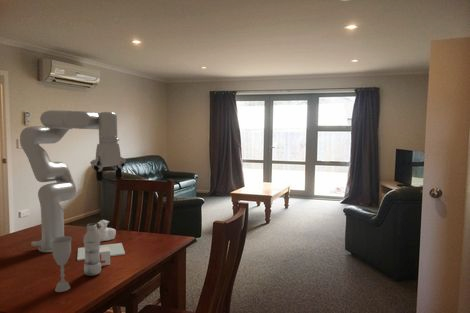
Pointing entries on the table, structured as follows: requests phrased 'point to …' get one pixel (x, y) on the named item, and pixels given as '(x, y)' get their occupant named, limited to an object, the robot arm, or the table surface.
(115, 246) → the sage mat
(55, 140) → the robot arm
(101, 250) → the lettered cube
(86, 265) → the metal bottle
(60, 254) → the chalice
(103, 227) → the bust
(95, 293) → the table surface
